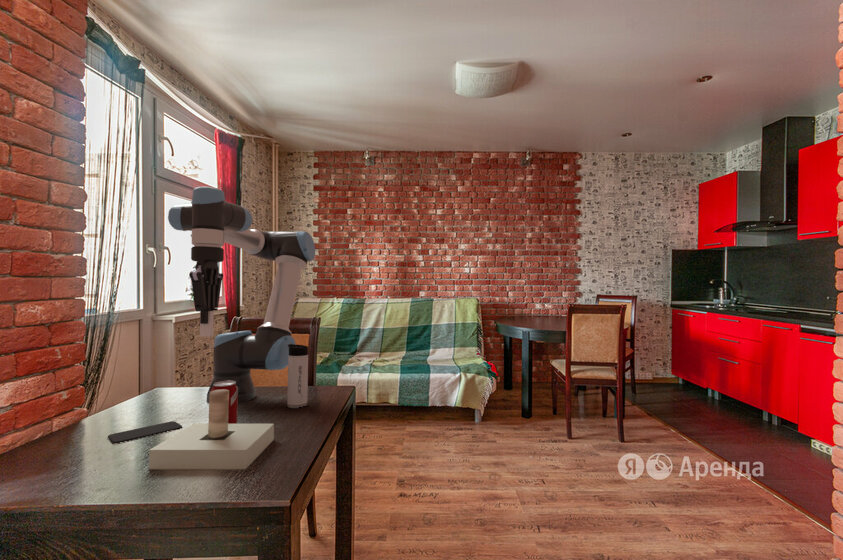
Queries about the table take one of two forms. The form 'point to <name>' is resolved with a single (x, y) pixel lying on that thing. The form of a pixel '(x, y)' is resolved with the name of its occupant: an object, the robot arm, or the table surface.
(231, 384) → the soda can
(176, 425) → the phone
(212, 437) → the peg
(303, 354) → the travel mug
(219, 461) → the board
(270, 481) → the table surface
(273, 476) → the table surface
